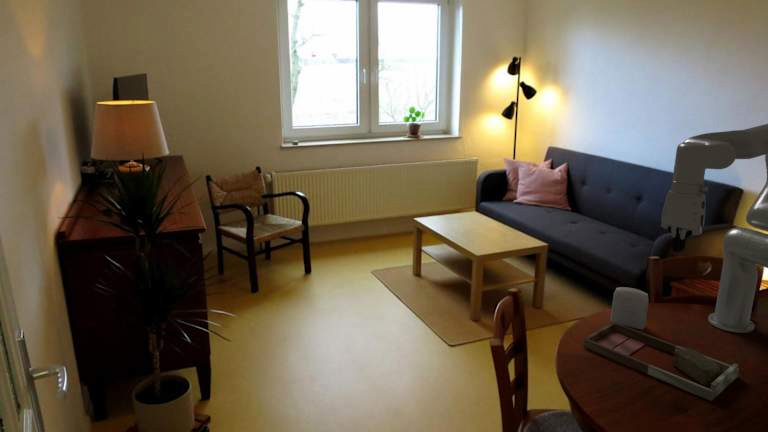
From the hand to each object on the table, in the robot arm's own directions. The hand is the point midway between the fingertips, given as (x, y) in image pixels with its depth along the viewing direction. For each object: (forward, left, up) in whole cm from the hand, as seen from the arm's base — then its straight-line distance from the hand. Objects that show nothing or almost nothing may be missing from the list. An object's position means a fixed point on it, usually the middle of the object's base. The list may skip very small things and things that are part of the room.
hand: (677, 250), depth 159 cm
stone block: (+11, +13, -30) cm, 34 cm away
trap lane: (+12, +3, -29) cm, 32 cm away
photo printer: (-3, -13, -29) cm, 32 cm away
